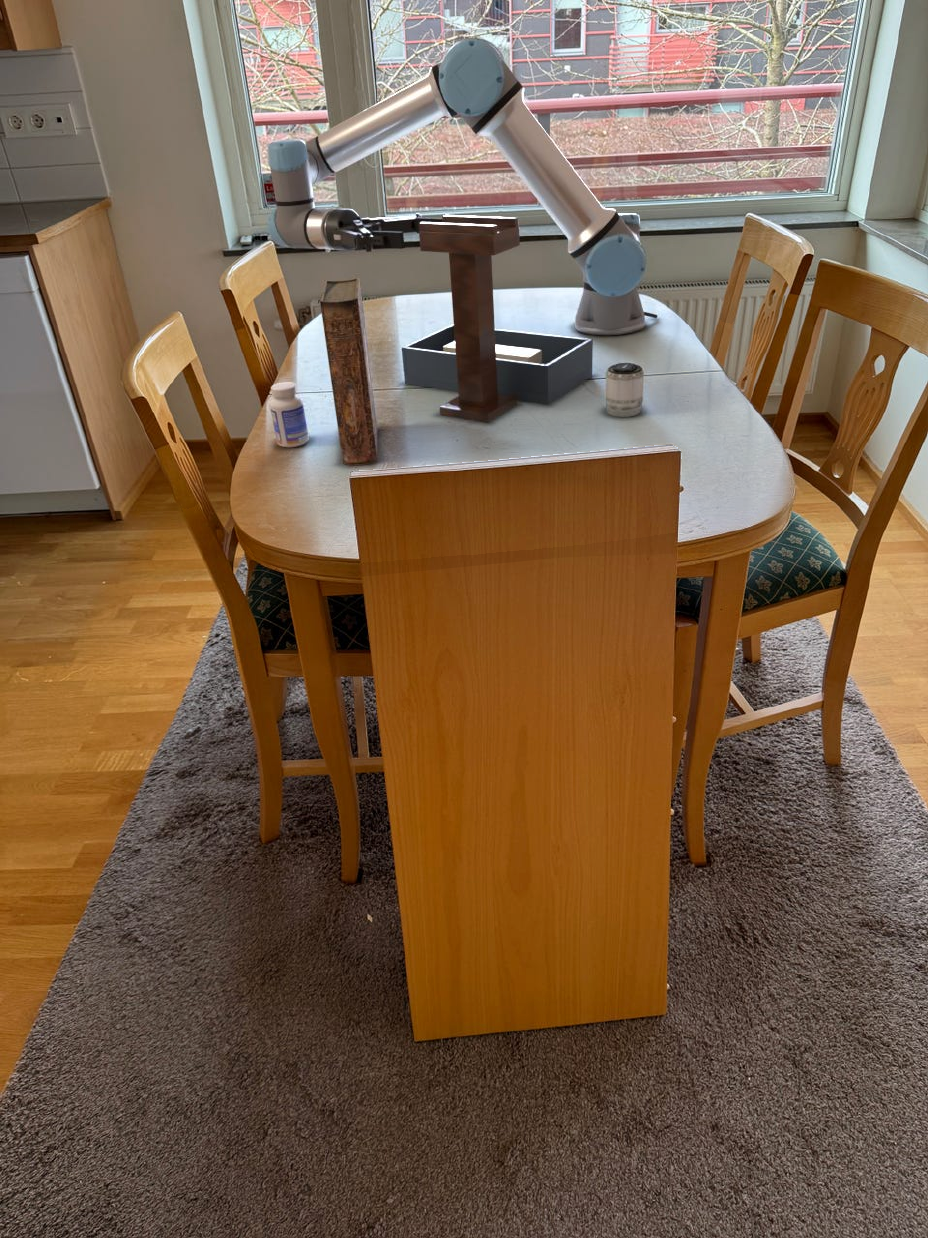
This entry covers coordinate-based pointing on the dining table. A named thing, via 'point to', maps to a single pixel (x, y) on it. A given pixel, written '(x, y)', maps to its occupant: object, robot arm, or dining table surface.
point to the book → (350, 370)
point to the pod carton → (509, 353)
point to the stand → (473, 307)
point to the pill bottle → (288, 415)
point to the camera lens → (624, 389)
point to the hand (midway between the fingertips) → (424, 232)
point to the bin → (506, 364)
